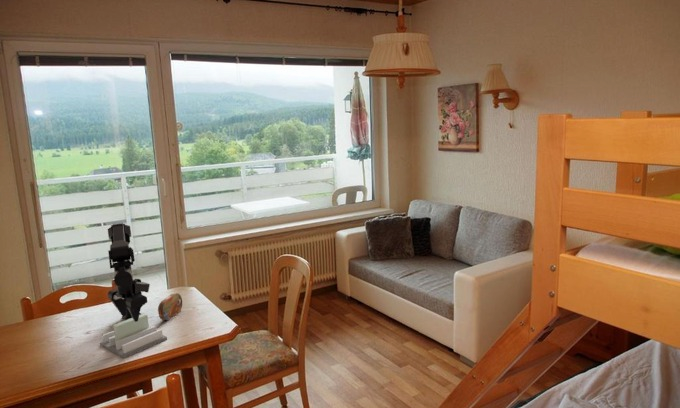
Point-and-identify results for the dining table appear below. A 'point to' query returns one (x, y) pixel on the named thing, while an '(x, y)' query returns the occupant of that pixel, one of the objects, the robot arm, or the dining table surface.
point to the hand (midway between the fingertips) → (130, 318)
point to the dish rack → (132, 341)
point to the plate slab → (130, 327)
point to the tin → (170, 307)
